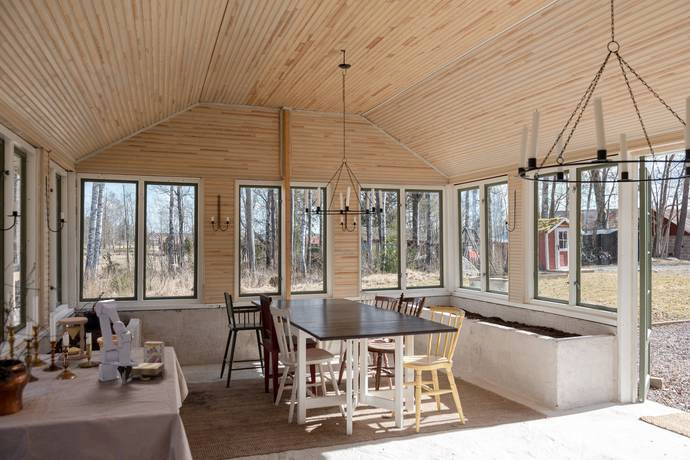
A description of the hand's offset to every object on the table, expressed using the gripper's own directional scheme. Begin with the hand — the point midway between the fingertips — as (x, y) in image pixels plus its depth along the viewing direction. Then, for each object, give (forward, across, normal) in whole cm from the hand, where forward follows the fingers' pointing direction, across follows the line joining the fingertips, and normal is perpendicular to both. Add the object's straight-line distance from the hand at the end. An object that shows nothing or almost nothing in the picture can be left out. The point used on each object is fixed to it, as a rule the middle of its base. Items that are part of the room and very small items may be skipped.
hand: (125, 379), depth 304 cm
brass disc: (+2, +7, +9) cm, 12 cm away
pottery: (+2, -29, +53) cm, 60 cm away
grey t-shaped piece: (+2, 0, +6) cm, 6 cm away
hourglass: (+2, -62, +60) cm, 86 cm away
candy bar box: (+2, +5, +29) cm, 30 cm away
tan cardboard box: (+2, +7, +11) cm, 13 cm away
